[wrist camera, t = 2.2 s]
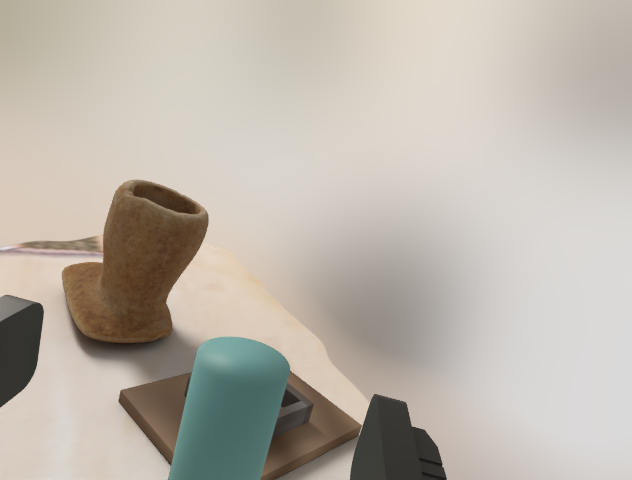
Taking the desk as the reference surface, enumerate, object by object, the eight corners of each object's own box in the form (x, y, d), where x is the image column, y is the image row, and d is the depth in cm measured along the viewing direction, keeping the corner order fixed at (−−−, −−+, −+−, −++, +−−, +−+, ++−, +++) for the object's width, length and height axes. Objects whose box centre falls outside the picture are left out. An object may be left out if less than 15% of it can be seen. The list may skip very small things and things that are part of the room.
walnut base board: (210, 513, 31) (219, 477, 30) (118, 401, 39) (124, 370, 38) (358, 435, 43) (367, 408, 42) (265, 361, 51) (271, 338, 50)
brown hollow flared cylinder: (198, 350, 49) (229, 212, 46) (71, 355, 43) (95, 195, 39) (162, 289, 62) (184, 176, 58) (58, 286, 55) (76, 158, 51)
